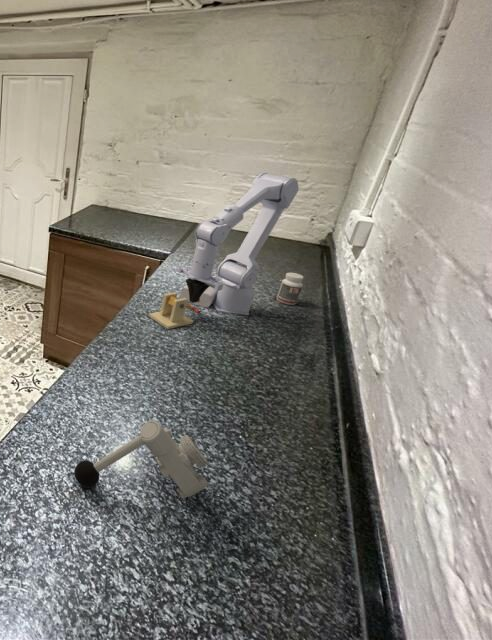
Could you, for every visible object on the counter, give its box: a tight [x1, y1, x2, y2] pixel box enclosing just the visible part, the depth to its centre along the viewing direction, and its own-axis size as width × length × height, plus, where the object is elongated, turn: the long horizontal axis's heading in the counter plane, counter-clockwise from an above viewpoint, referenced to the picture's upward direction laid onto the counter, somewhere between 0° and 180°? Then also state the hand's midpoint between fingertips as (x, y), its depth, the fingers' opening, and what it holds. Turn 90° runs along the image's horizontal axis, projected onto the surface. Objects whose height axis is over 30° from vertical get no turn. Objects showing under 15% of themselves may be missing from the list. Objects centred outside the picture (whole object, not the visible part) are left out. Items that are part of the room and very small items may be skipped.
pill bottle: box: [276, 272, 305, 306], centre depth 135 cm, size 6×6×10 cm
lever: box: [167, 296, 201, 315], centre depth 122 cm, size 11×6×2 cm, turn 112°
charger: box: [179, 284, 218, 308], centre depth 137 cm, size 5×9×15 cm
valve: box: [74, 419, 209, 500], centre depth 69 cm, size 10×20×15 cm
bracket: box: [148, 291, 194, 330], centre depth 121 cm, size 10×8×8 cm
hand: (193, 301), depth 124 cm, fingers closed
